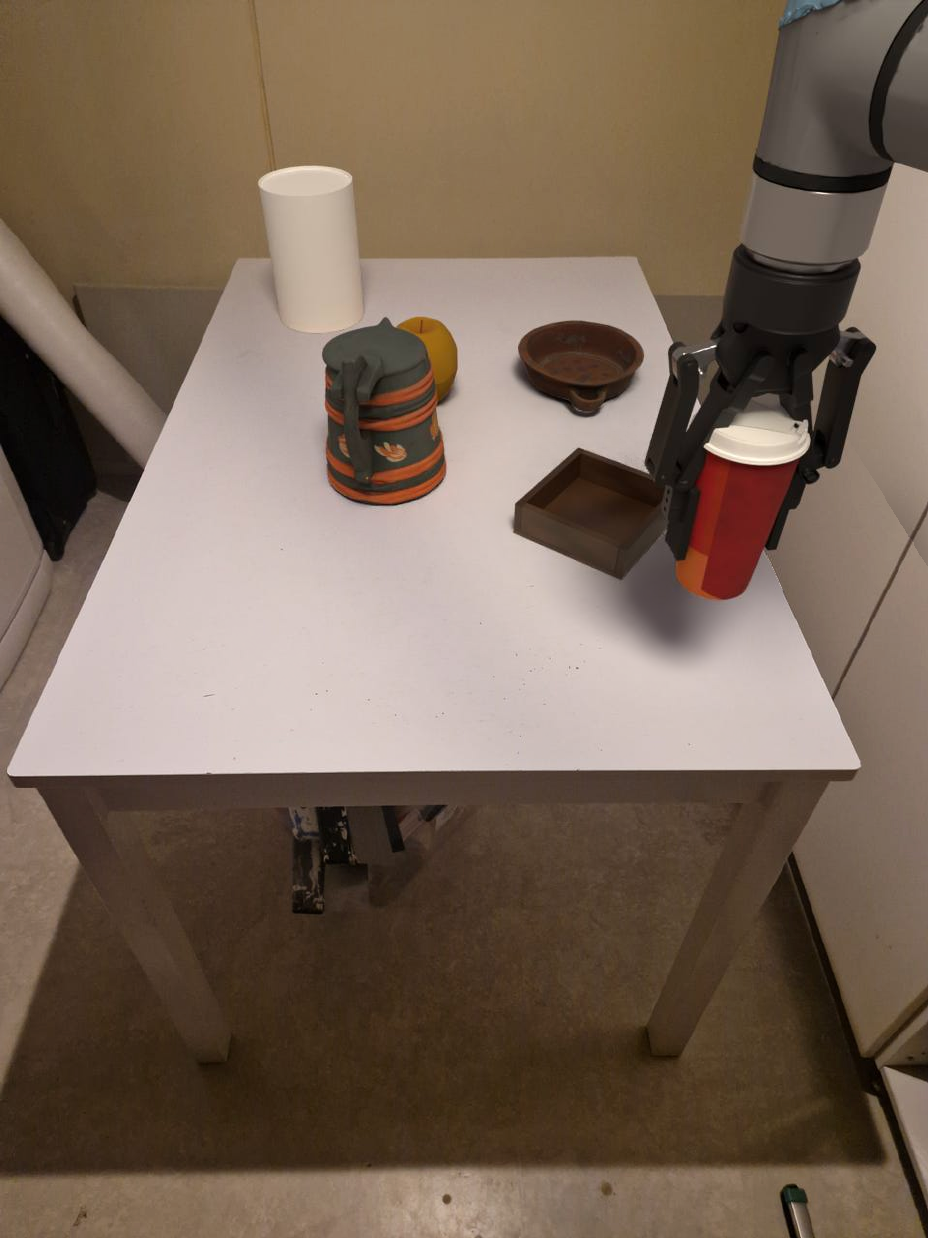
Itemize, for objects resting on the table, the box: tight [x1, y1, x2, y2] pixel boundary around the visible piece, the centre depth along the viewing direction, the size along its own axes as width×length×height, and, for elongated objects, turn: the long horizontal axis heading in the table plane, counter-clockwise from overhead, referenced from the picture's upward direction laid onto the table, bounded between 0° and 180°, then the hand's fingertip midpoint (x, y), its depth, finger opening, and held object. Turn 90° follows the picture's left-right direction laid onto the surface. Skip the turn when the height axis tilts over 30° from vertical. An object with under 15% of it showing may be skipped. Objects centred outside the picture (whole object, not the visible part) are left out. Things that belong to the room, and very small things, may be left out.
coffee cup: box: [675, 393, 810, 601], centre depth 63 cm, size 8×8×15 cm
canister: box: [257, 165, 365, 334], centre depth 127 cm, size 14×14×20 cm
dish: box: [517, 319, 645, 413], centre depth 116 cm, size 18×22×5 cm
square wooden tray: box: [513, 446, 668, 581], centre depth 93 cm, size 14×14×4 cm
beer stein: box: [321, 316, 447, 505], centre depth 93 cm, size 19×15×20 cm
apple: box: [395, 316, 459, 403], centre depth 110 cm, size 10×10×12 cm
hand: (720, 544), depth 66 cm, fingers closed on coffee cup, 7 cm apart
